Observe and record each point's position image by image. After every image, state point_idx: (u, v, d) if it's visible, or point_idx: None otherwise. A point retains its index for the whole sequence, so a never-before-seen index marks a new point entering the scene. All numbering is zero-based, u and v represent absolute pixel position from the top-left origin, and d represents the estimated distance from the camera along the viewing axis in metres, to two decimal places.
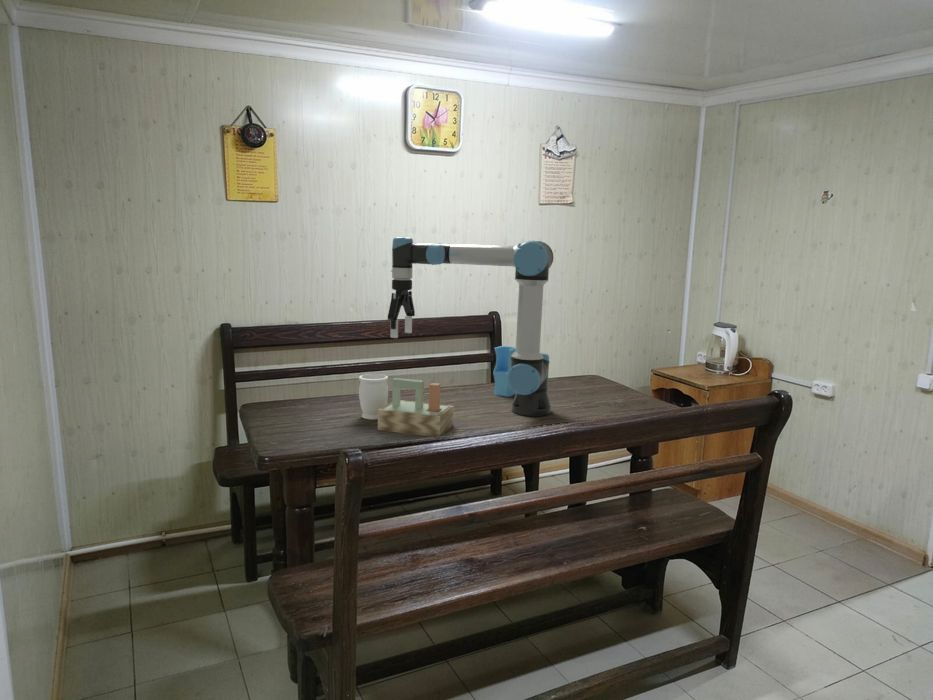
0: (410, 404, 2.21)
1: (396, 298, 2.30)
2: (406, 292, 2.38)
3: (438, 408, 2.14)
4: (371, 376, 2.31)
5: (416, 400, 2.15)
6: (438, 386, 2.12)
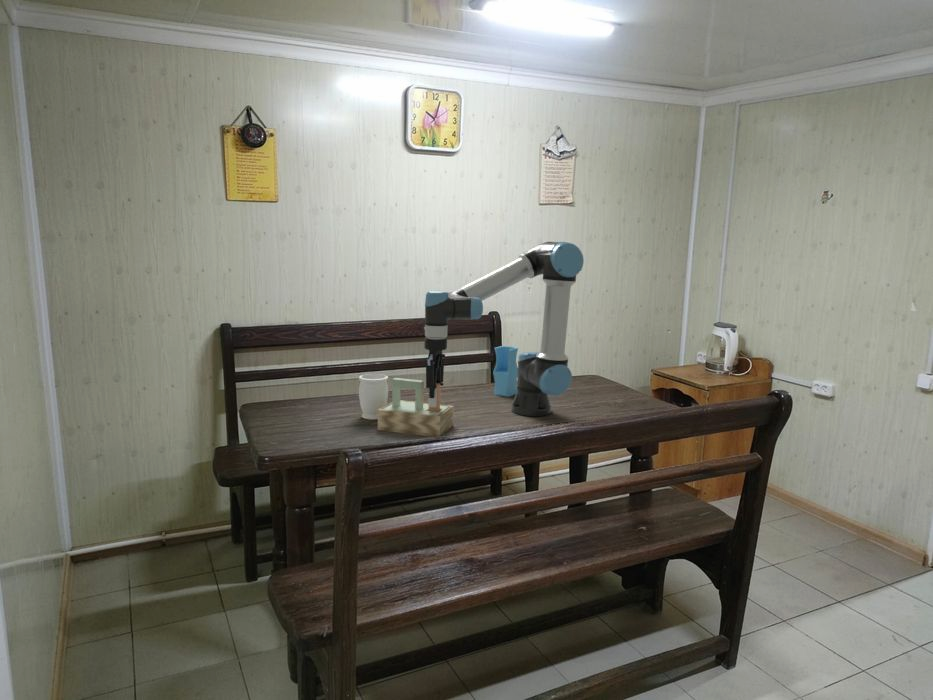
0: (410, 404, 2.21)
1: (431, 365, 2.06)
2: (441, 349, 2.13)
3: (438, 408, 2.14)
4: (371, 376, 2.31)
5: (416, 400, 2.15)
6: (438, 386, 2.12)
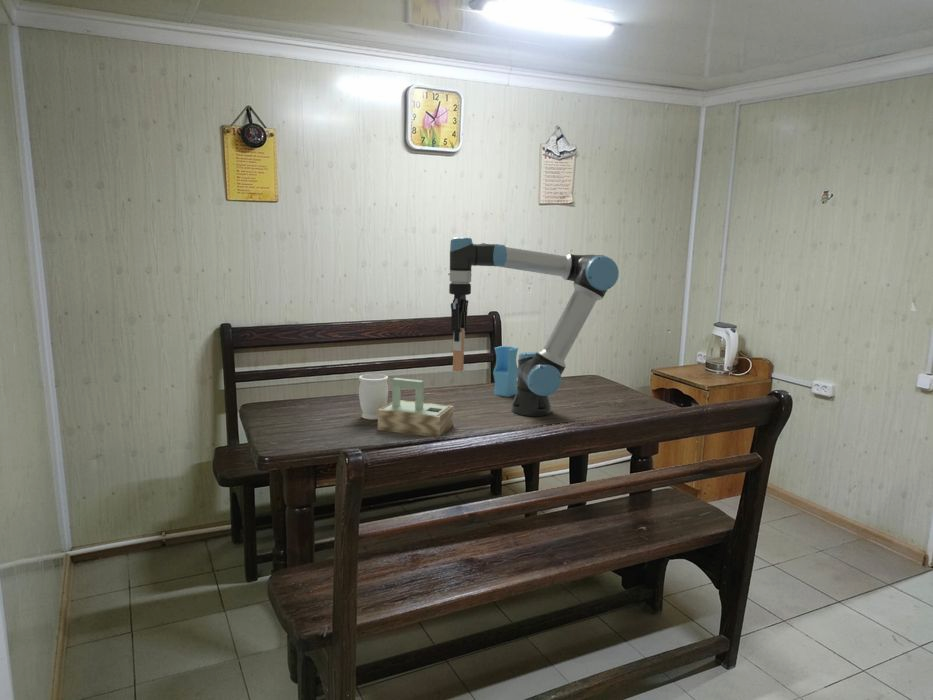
0: (410, 404, 2.21)
1: (456, 309, 2.14)
2: (464, 295, 2.21)
3: (462, 352, 2.22)
4: (371, 376, 2.31)
5: (416, 400, 2.15)
6: (462, 330, 2.20)
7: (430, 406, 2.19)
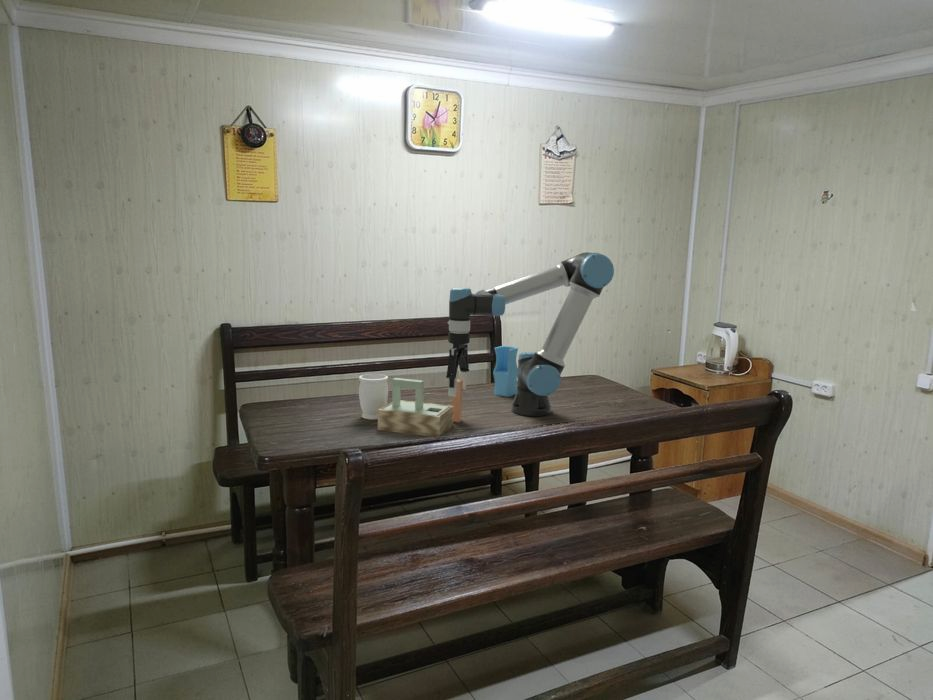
0: (410, 404, 2.21)
1: (454, 355, 2.16)
2: (463, 345, 2.24)
3: (461, 403, 2.26)
4: (371, 376, 2.31)
5: (416, 400, 2.15)
6: (461, 382, 2.24)
7: (430, 406, 2.19)
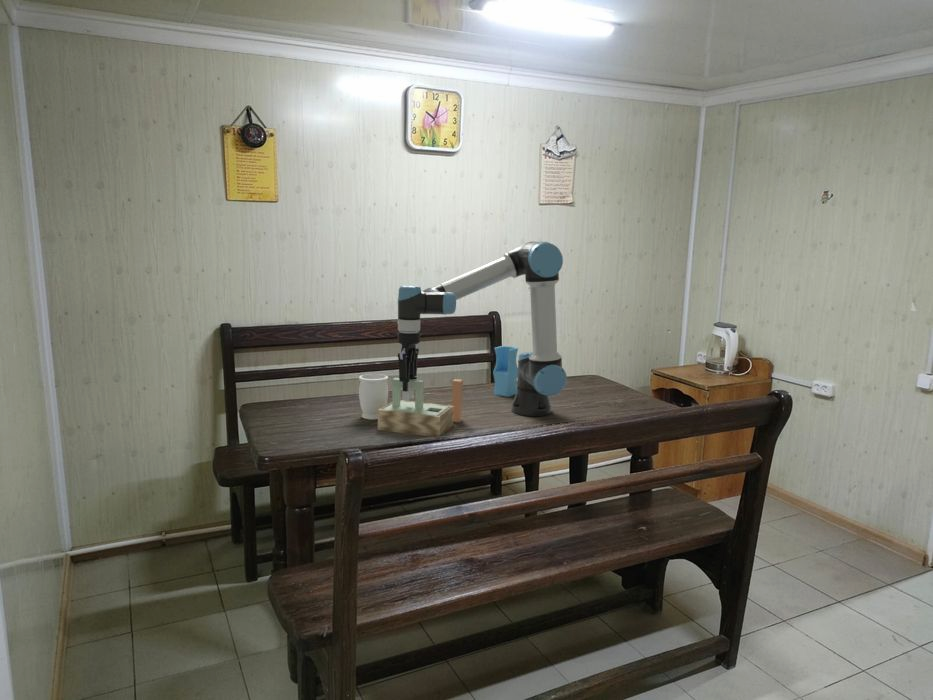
0: (410, 404, 2.21)
1: (404, 359, 2.09)
2: (414, 343, 2.16)
3: (461, 403, 2.26)
4: (371, 376, 2.31)
5: (416, 400, 2.15)
6: (461, 382, 2.24)
7: (430, 406, 2.19)
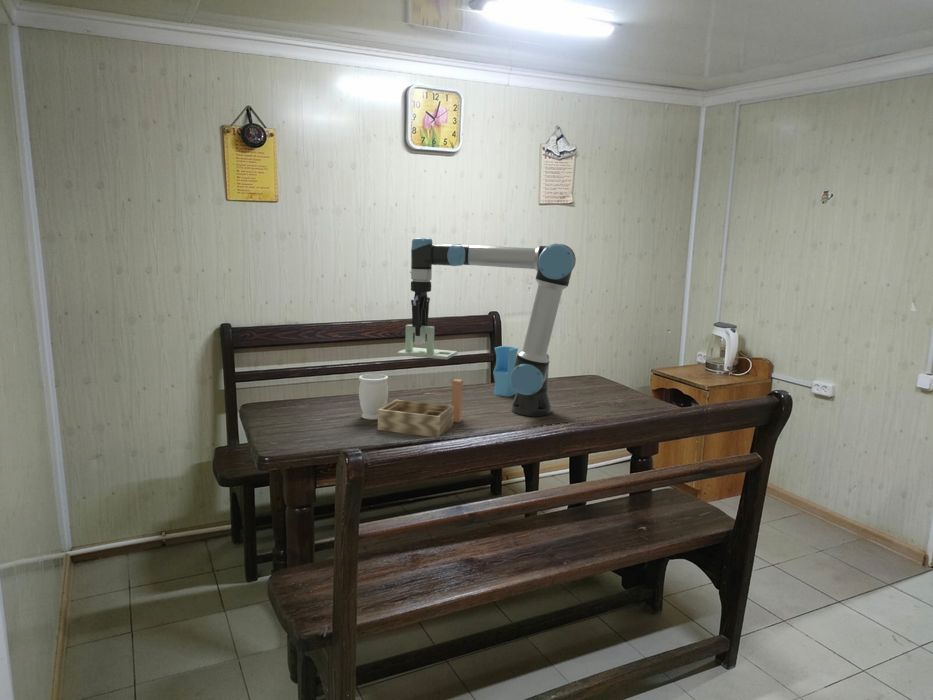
0: (422, 349, 2.39)
1: (417, 305, 2.27)
2: (425, 292, 2.34)
3: (461, 403, 2.26)
4: (371, 376, 2.31)
5: (427, 344, 2.33)
6: (461, 382, 2.24)
7: (440, 351, 2.37)
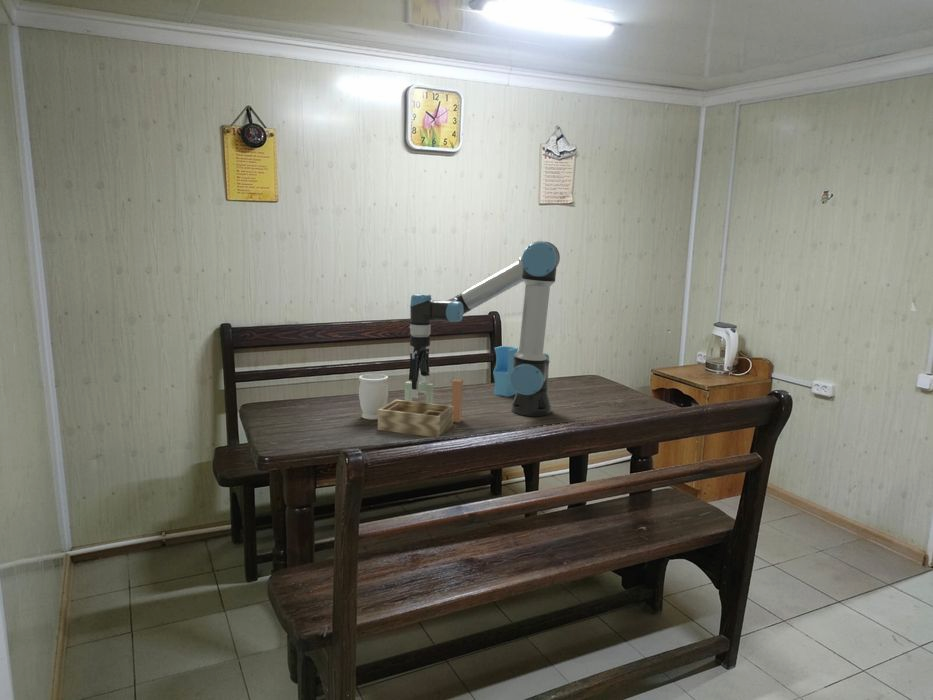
0: None
1: (415, 359, 2.30)
2: (424, 347, 2.37)
3: (461, 403, 2.26)
4: (371, 376, 2.31)
5: (426, 401, 2.37)
6: (461, 382, 2.24)
7: None
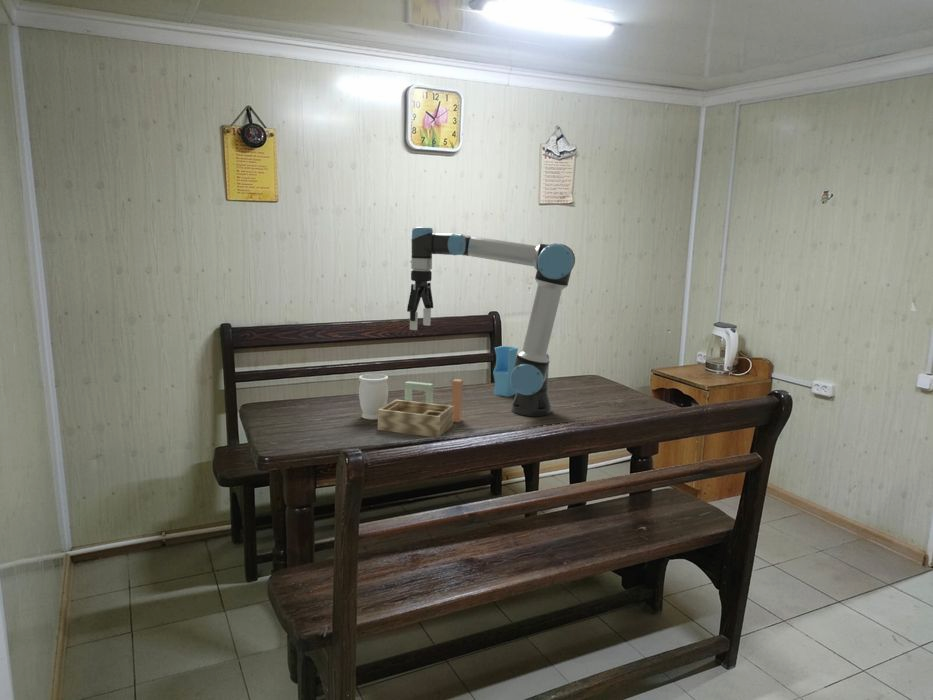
0: None
1: (416, 289, 2.25)
2: (425, 283, 2.33)
3: (461, 403, 2.26)
4: (371, 376, 2.31)
5: (426, 401, 2.37)
6: (461, 382, 2.24)
7: None
